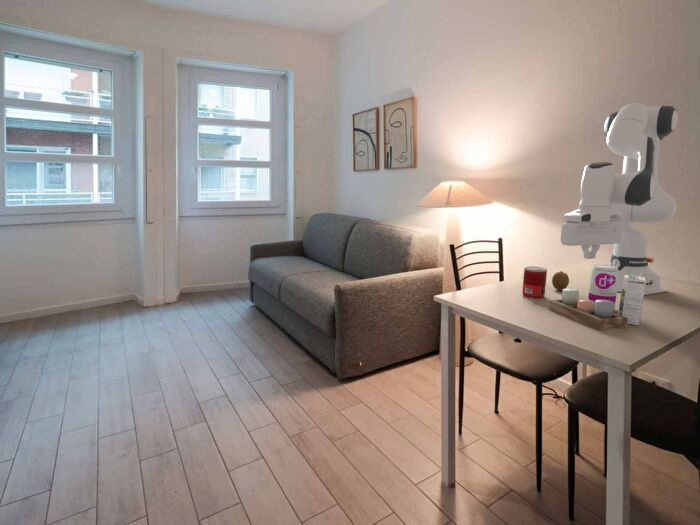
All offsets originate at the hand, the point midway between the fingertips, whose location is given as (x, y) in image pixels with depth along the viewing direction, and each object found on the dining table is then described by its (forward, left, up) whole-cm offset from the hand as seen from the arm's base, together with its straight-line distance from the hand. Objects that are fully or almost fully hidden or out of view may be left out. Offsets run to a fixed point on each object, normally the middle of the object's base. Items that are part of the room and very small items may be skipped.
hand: (589, 258), depth 130 cm
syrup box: (-9, +8, -20) cm, 23 cm away
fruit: (-16, -31, -20) cm, 40 cm away
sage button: (+1, -6, -17) cm, 18 cm away
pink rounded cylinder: (+1, +1, -19) cm, 19 cm away
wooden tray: (+1, +1, -19) cm, 19 cm away
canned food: (0, -26, -20) cm, 32 cm away
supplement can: (-12, -6, -20) cm, 24 cm away
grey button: (+1, +8, -17) cm, 19 cm away
